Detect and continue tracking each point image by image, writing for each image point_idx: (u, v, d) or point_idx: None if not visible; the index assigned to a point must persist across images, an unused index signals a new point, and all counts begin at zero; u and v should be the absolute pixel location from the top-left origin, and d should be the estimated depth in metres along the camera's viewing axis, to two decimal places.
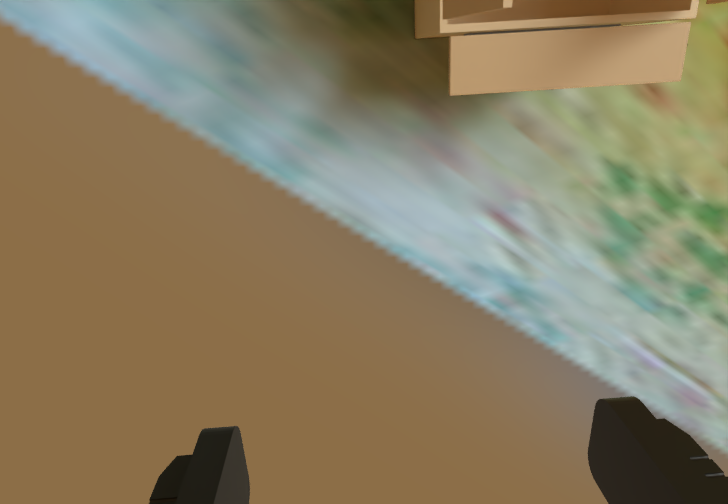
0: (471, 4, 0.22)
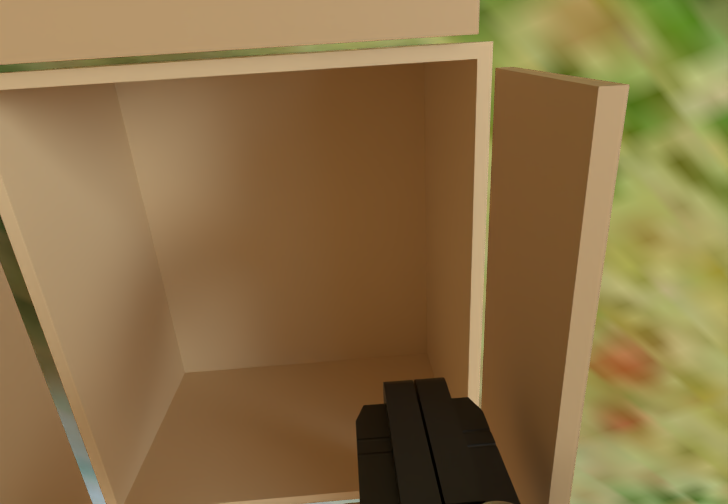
0: None
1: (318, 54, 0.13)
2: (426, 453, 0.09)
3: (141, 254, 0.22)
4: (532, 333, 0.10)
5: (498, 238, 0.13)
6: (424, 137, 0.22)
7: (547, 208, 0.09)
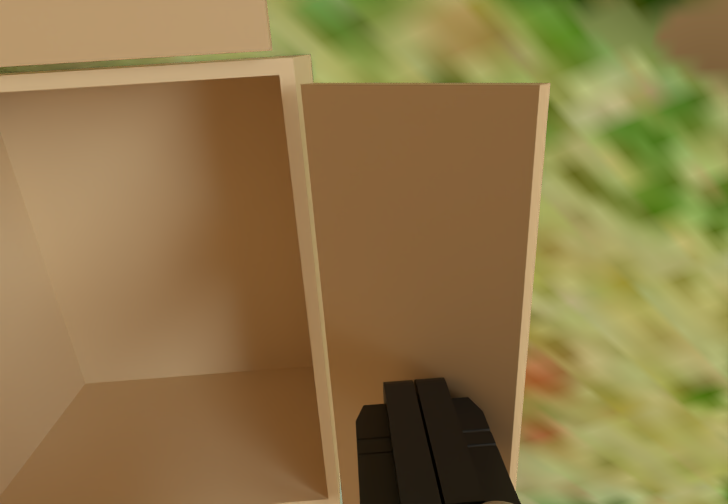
0: None
1: (113, 70, 0.12)
2: (426, 453, 0.09)
3: (22, 265, 0.22)
4: (447, 316, 0.11)
5: (345, 250, 0.13)
6: None
7: (457, 200, 0.10)
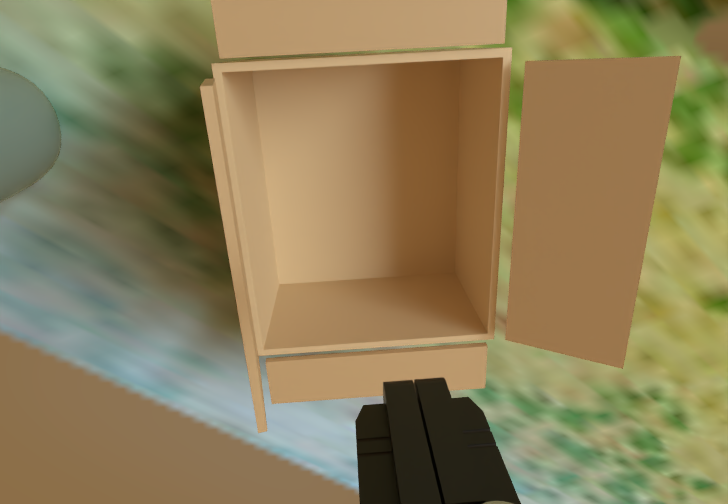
0: None
1: (414, 53, 0.23)
2: (426, 453, 0.09)
3: (263, 190, 0.32)
4: (613, 176, 0.22)
5: (542, 152, 0.23)
6: (458, 112, 0.32)
7: (628, 113, 0.21)
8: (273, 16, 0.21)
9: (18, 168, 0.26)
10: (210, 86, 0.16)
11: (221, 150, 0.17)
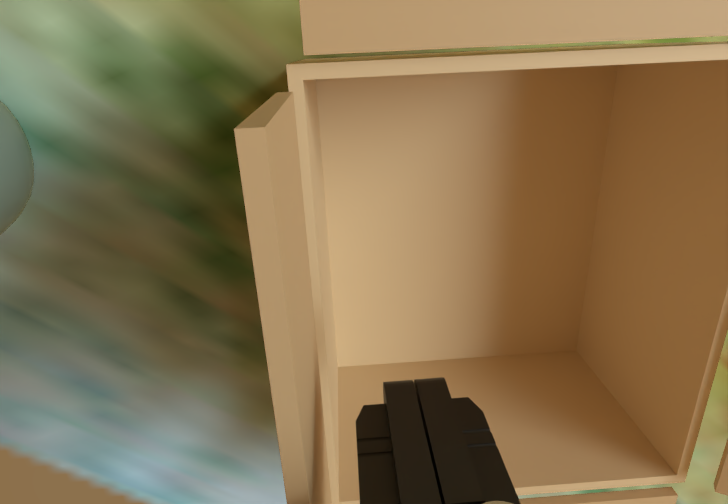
0: None
1: (642, 49, 0.13)
2: (426, 453, 0.09)
3: (327, 247, 0.22)
4: None
5: None
6: (607, 135, 0.22)
7: None
8: None
9: None
10: (261, 128, 0.06)
11: (280, 277, 0.07)
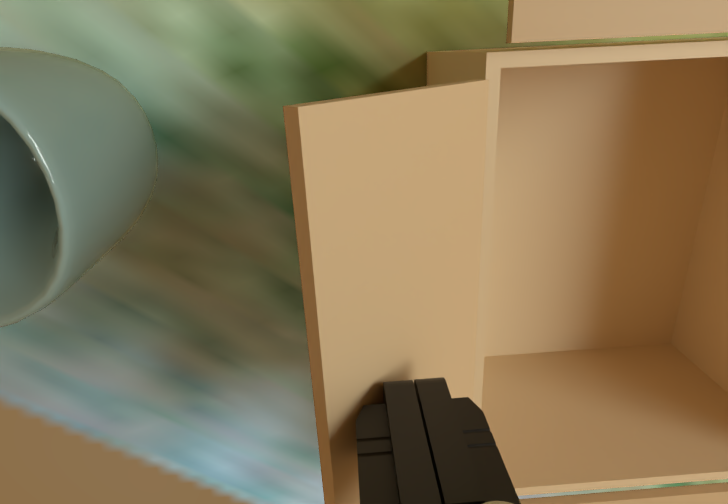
0: None
1: None
2: (426, 453, 0.09)
3: None
4: None
5: None
6: (720, 128, 0.23)
7: None
8: None
9: (118, 221, 0.16)
10: (298, 108, 0.08)
11: (309, 230, 0.09)
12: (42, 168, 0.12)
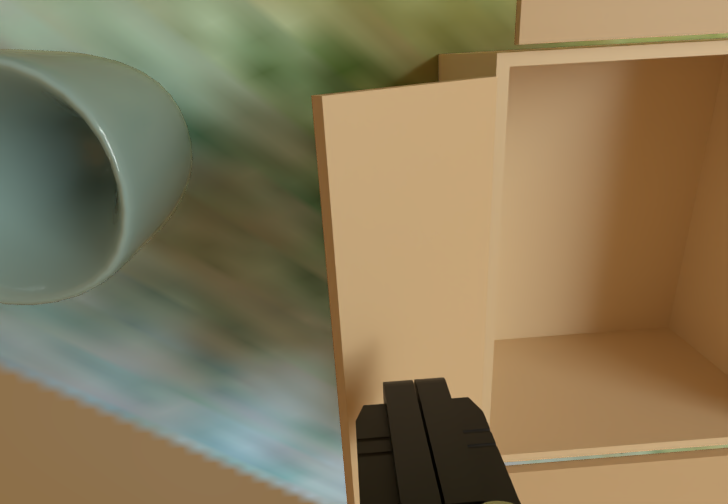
0: None
1: None
2: (426, 453, 0.09)
3: None
4: None
5: None
6: (711, 123, 0.24)
7: None
8: None
9: (164, 207, 0.18)
10: (322, 97, 0.10)
11: (330, 195, 0.11)
12: (109, 156, 0.14)
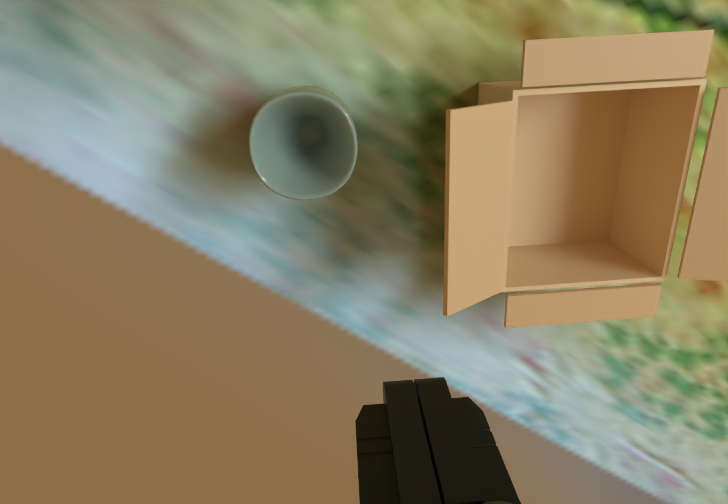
0: None
1: (644, 83, 0.35)
2: (426, 453, 0.09)
3: None
4: None
5: (725, 146, 0.36)
6: (626, 119, 0.44)
7: None
8: (561, 60, 0.33)
9: None
10: (450, 110, 0.31)
11: (449, 145, 0.31)
12: (352, 133, 0.34)
